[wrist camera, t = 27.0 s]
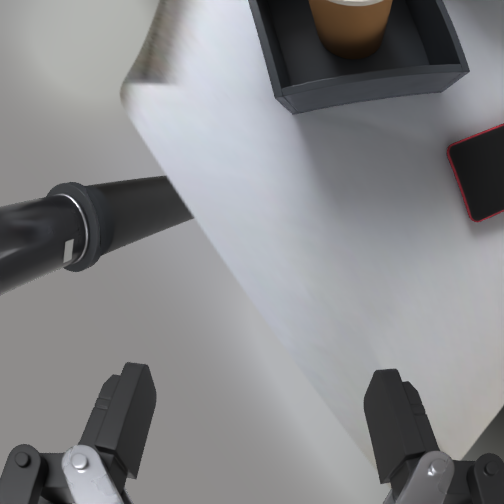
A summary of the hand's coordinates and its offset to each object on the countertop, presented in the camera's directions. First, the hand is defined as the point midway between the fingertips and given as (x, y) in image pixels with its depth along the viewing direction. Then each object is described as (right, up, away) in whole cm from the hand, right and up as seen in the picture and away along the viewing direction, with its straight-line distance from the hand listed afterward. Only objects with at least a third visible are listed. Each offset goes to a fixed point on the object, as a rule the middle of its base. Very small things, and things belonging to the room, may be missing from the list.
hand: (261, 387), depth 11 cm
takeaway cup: (+8, +24, +12) cm, 28 cm away
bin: (+8, +25, +13) cm, 29 cm away
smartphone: (+24, +13, +11) cm, 30 cm away
